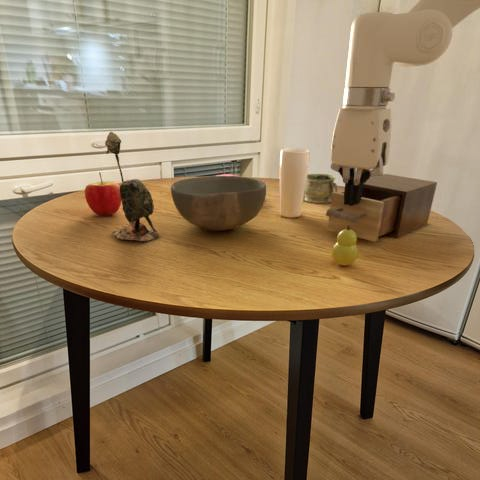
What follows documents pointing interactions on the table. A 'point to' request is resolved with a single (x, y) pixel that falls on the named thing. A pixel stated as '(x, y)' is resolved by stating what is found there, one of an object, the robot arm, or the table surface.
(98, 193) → the apple
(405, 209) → the cabinet
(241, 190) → the bowl
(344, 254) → the pear
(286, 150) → the drinking glass
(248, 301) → the table surface
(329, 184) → the vessel
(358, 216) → the drawer
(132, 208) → the stone bird figurine
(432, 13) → the robot arm
